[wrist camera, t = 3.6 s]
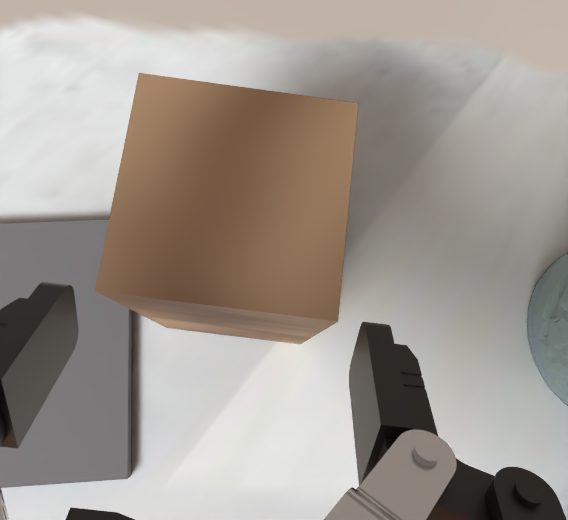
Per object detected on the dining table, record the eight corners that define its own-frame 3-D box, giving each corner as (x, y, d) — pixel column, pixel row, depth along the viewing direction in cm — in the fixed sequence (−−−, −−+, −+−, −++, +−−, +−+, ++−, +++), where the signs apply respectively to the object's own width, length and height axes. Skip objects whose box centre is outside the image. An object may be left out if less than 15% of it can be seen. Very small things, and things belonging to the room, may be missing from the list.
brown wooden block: (314, 217, 24) (358, 103, 14) (300, 344, 23) (337, 321, 12) (188, 200, 24) (139, 72, 14) (166, 327, 22) (94, 291, 12)
